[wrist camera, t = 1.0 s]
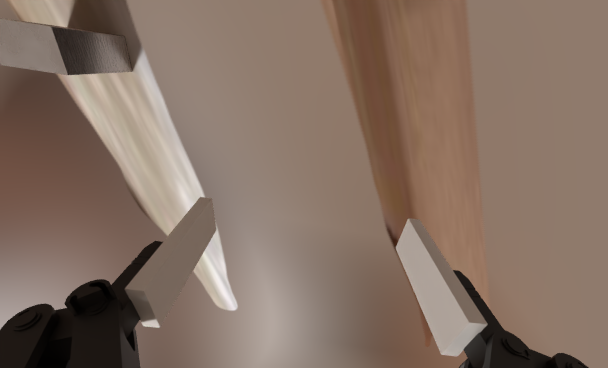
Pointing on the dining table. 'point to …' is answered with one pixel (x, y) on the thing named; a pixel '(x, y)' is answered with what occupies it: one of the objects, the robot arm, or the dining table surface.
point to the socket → (61, 49)
